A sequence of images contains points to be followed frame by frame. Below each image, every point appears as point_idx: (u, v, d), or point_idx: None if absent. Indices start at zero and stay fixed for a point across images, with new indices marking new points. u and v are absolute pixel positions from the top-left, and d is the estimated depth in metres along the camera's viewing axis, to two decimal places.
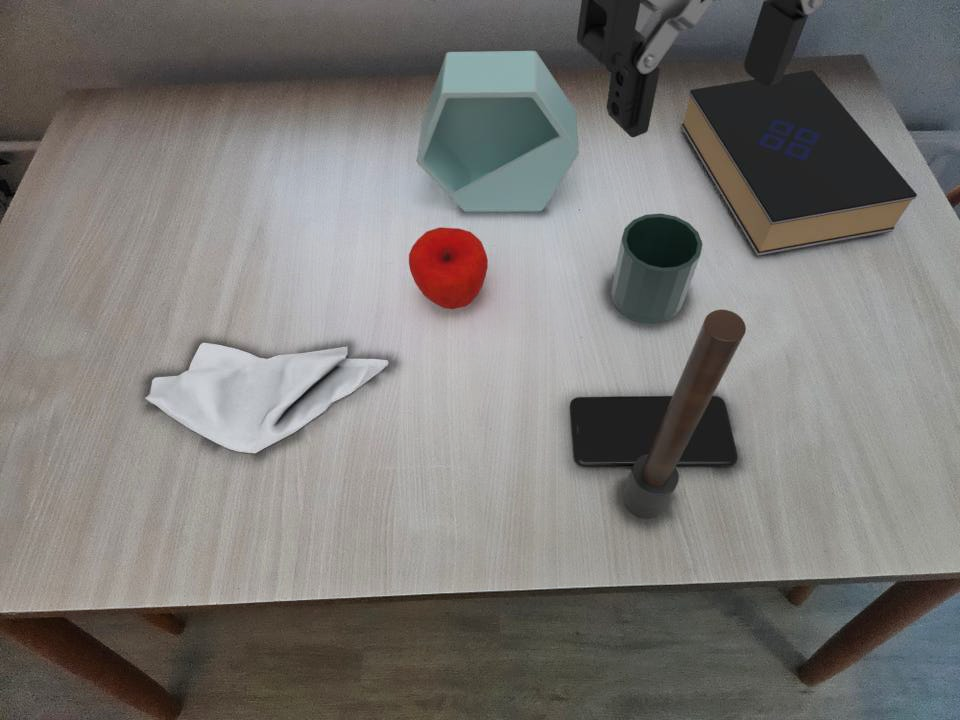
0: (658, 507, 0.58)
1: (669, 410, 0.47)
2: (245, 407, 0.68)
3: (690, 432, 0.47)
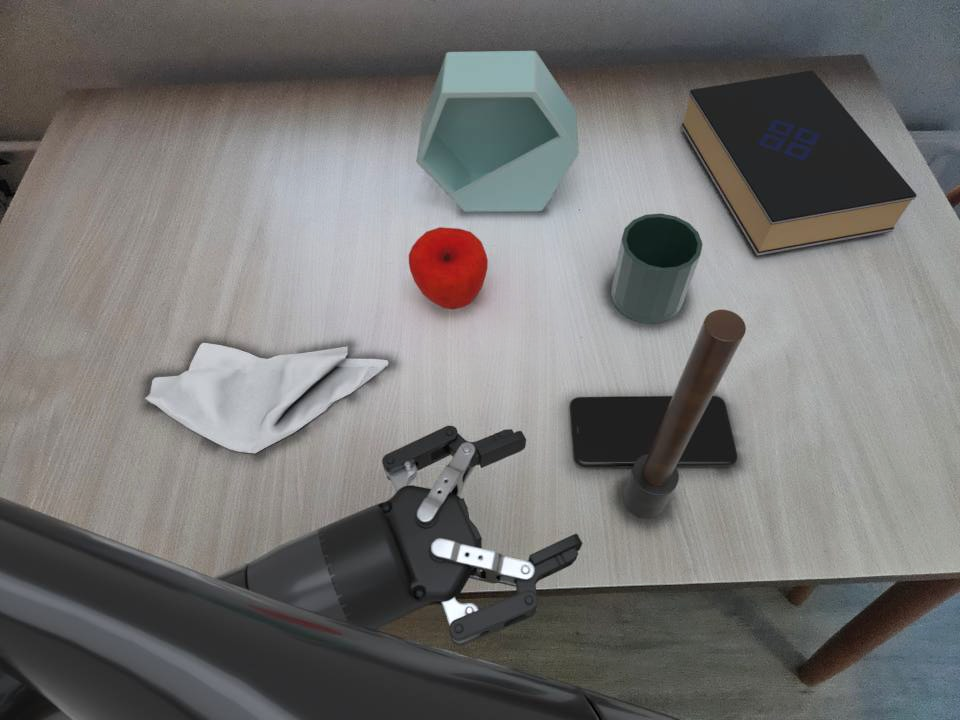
0: (658, 507, 0.58)
1: (669, 410, 0.47)
2: (245, 407, 0.68)
3: (690, 432, 0.47)
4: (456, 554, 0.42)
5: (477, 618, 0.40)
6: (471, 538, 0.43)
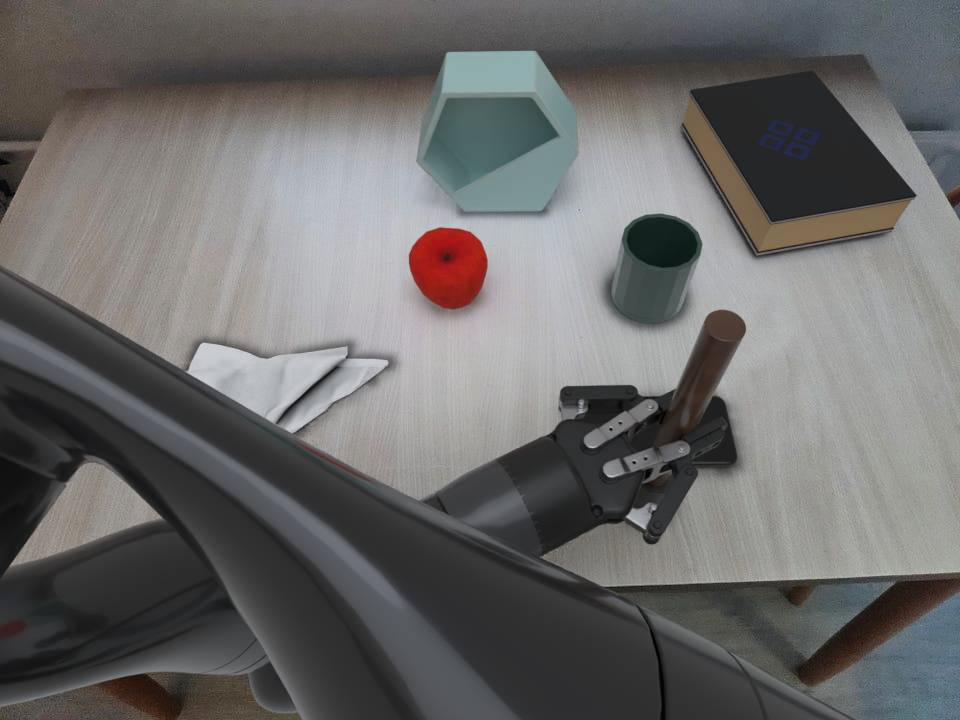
0: None
1: (669, 410, 0.47)
2: None
3: (690, 432, 0.47)
4: (626, 467, 0.45)
5: (664, 508, 0.44)
6: None
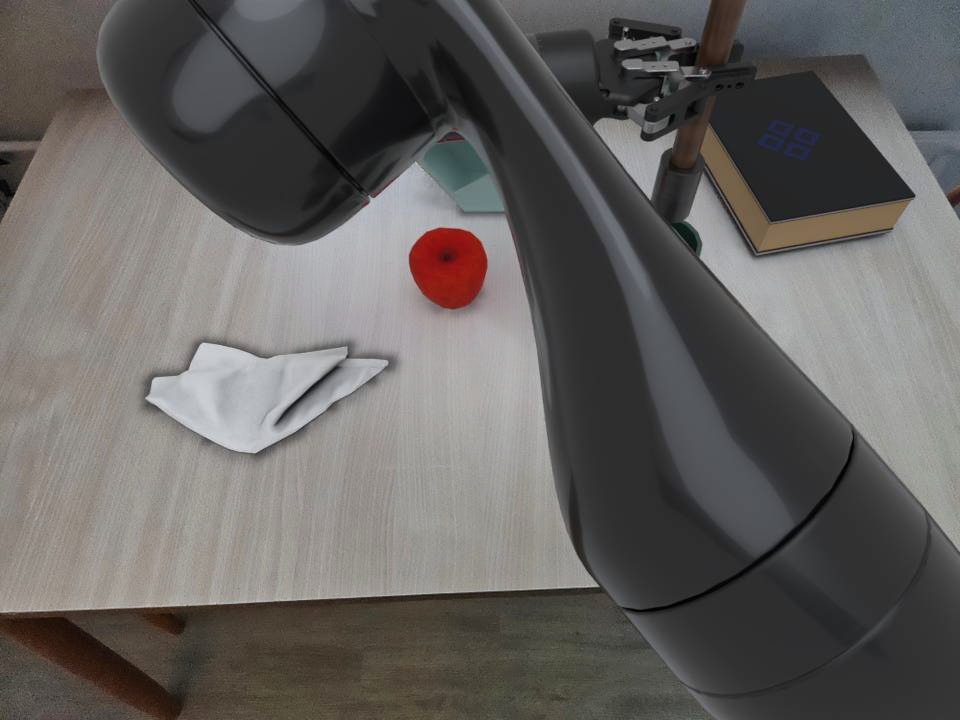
0: (677, 201, 0.60)
1: (702, 34, 0.49)
2: (245, 407, 0.68)
3: (717, 64, 0.50)
4: (644, 66, 0.49)
5: (666, 101, 0.47)
6: None
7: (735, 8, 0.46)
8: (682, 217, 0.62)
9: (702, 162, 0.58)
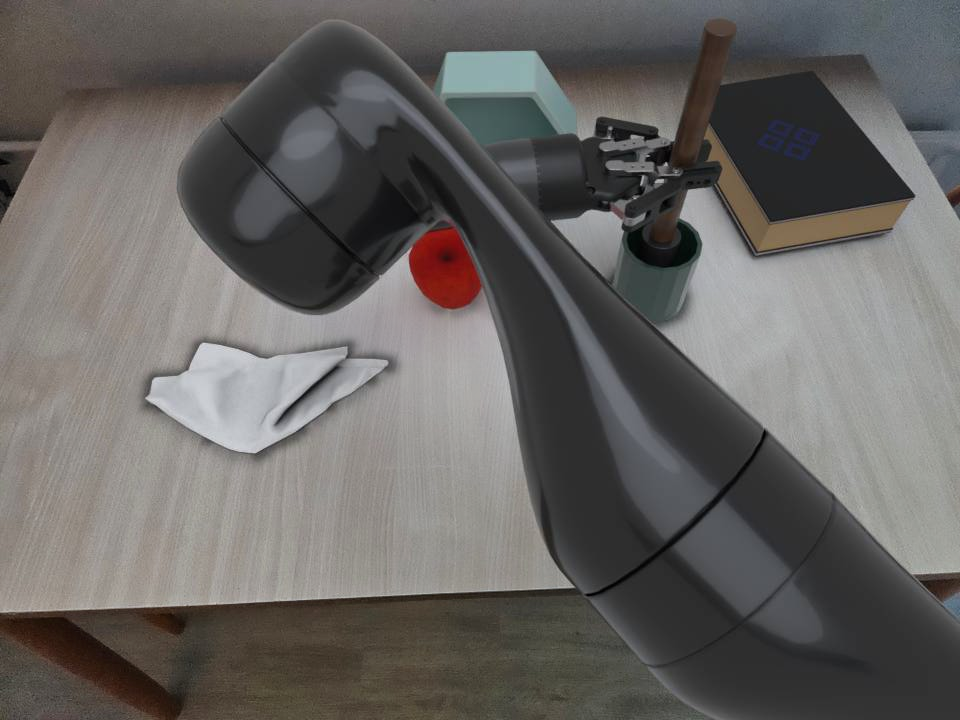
0: None
1: None
2: (245, 407, 0.68)
3: None
4: (625, 167, 0.57)
5: (643, 199, 0.55)
6: None
7: (701, 122, 0.54)
8: None
9: (678, 236, 0.66)
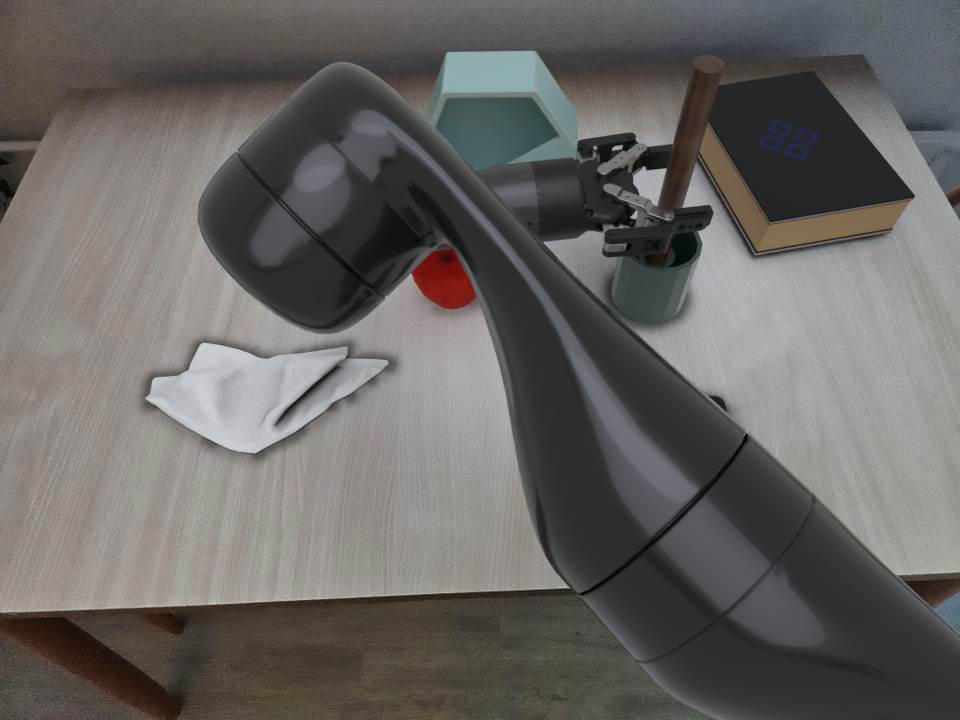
0: None
1: (667, 165, 0.60)
2: (245, 407, 0.68)
3: (679, 189, 0.60)
4: (620, 194, 0.58)
5: (626, 231, 0.57)
6: (632, 193, 0.59)
7: (692, 151, 0.56)
8: None
9: (672, 256, 0.69)
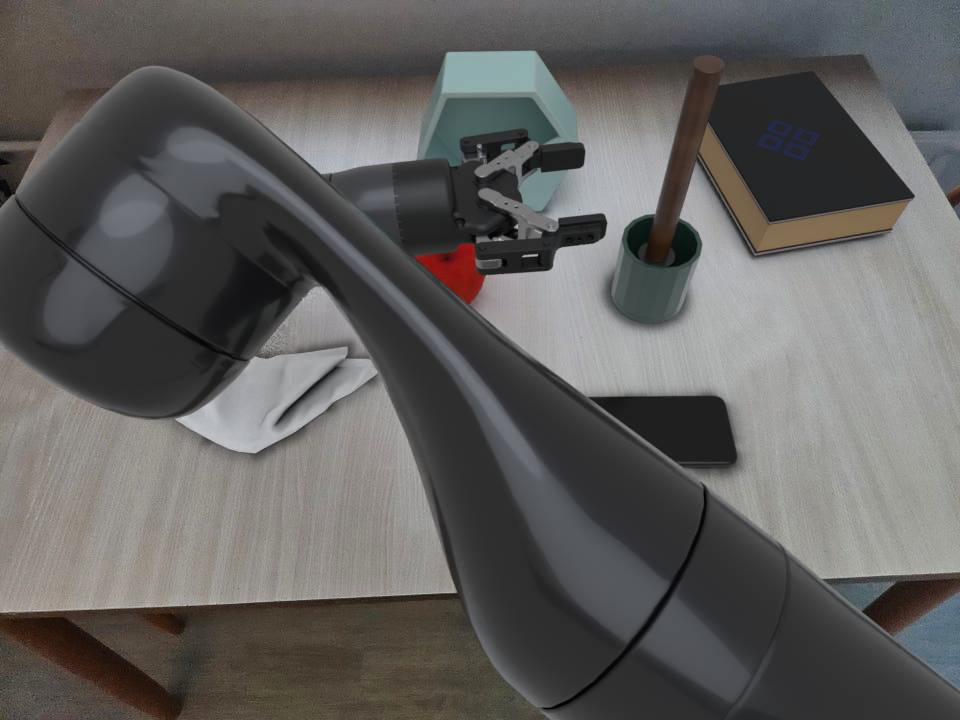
0: None
1: (667, 165, 0.60)
2: (245, 407, 0.68)
3: (679, 189, 0.60)
4: (497, 201, 0.49)
5: (499, 245, 0.48)
6: (514, 199, 0.51)
7: (692, 151, 0.56)
8: None
9: (672, 256, 0.69)
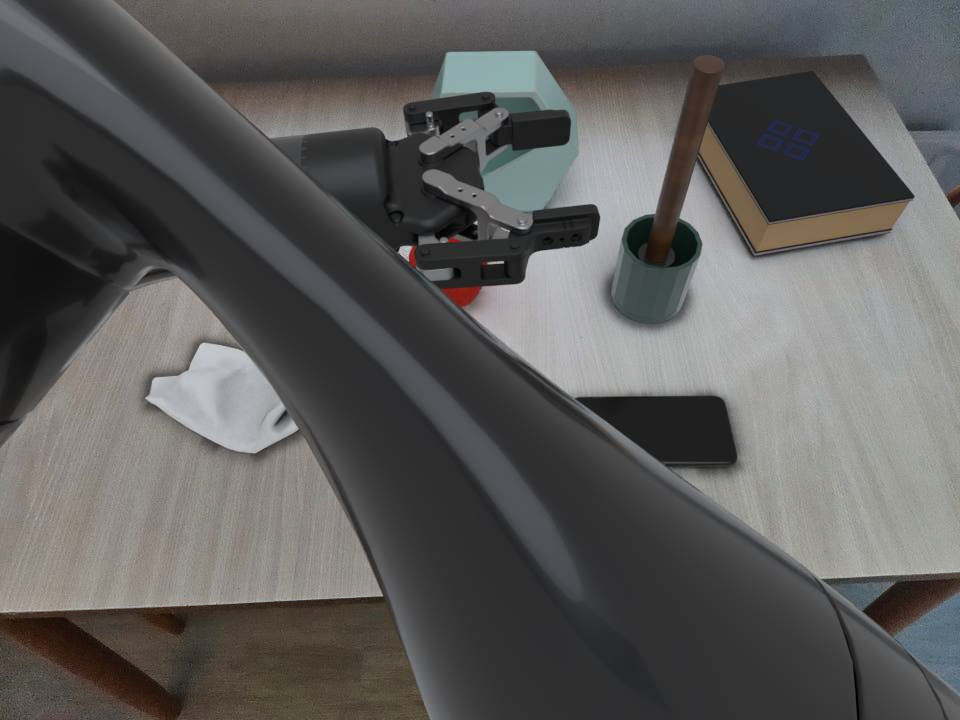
0: None
1: (667, 165, 0.60)
2: (245, 407, 0.68)
3: (679, 189, 0.60)
4: (448, 187, 0.36)
5: (449, 248, 0.34)
6: (472, 184, 0.37)
7: (692, 151, 0.56)
8: None
9: (672, 256, 0.69)
